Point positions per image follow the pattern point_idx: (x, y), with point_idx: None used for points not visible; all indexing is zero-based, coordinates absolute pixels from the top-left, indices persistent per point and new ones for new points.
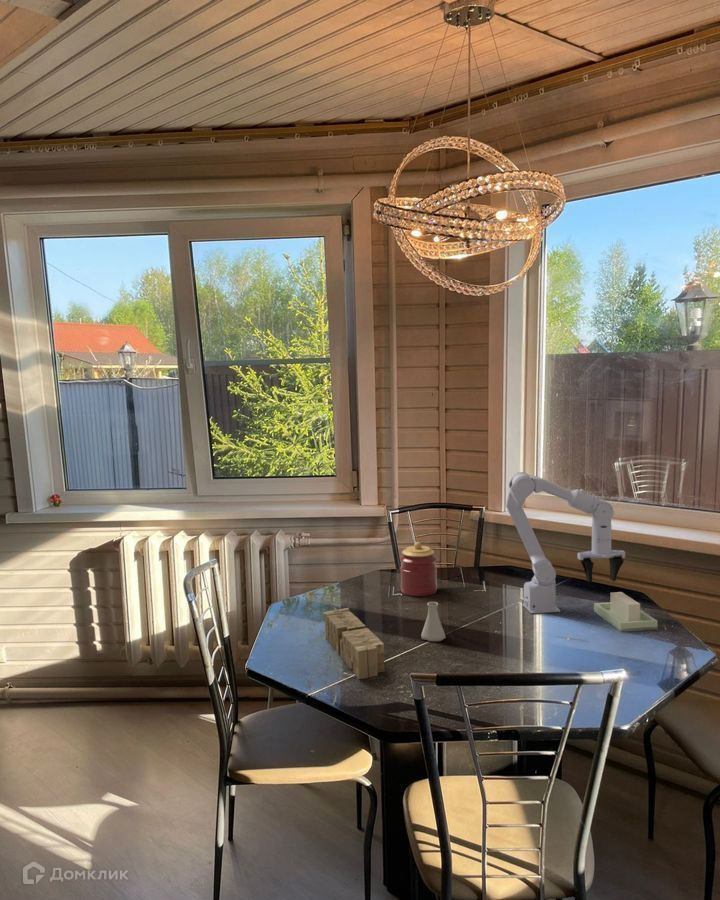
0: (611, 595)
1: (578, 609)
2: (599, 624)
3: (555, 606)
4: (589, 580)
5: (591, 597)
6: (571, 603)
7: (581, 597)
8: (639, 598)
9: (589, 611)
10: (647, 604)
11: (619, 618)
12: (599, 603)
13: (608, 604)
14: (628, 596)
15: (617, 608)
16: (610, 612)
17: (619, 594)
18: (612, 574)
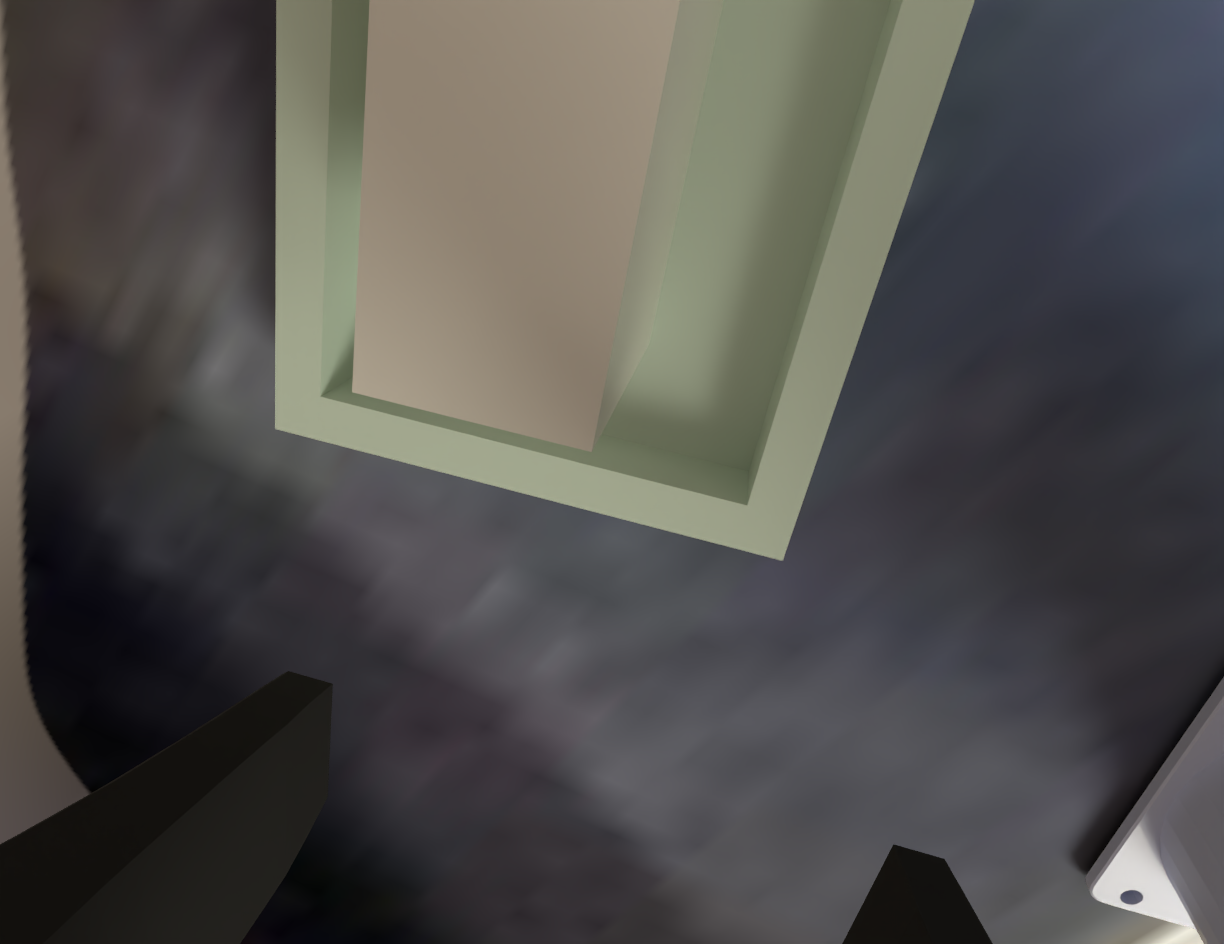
0: (608, 394)
1: (920, 626)
2: (1153, 3)
3: (1173, 785)
4: (972, 914)
5: (511, 812)
6: (841, 789)
7: (608, 854)
8: (58, 592)
9: (844, 519)
10: (47, 421)
11: (727, 17)
12: (715, 520)
13: (592, 461)
14: (367, 54)
15: (686, 108)
16: (674, 309)
17: (485, 270)
18: (234, 856)
